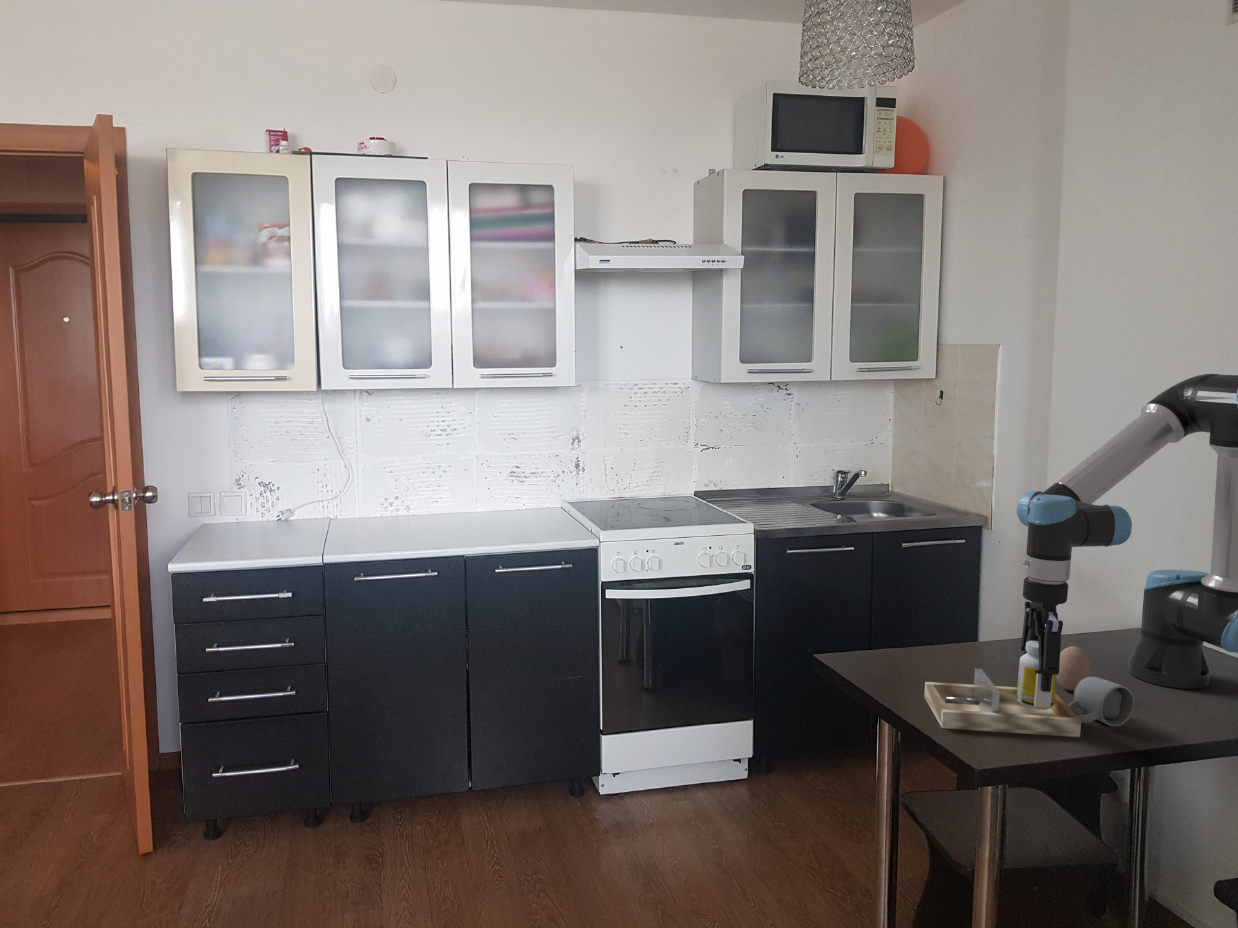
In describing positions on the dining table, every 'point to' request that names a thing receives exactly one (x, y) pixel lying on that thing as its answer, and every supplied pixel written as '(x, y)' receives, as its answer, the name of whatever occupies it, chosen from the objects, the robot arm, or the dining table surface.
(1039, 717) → the wooden tray
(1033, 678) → the pill bottle
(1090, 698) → the ceramic mug
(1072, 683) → the egg
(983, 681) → the pusher
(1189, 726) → the dining table surface
